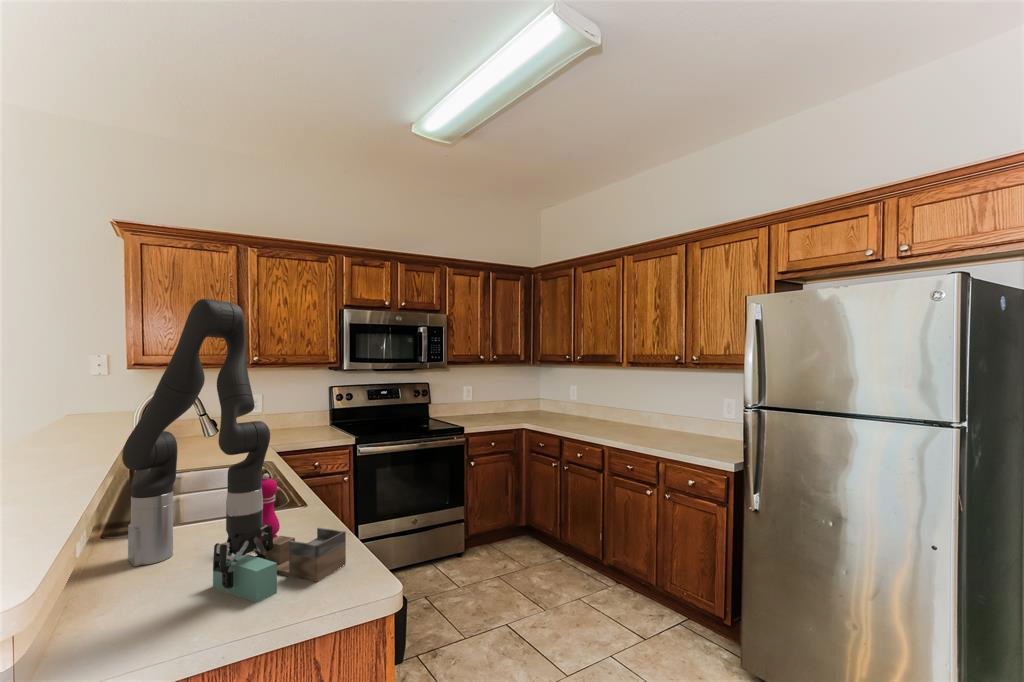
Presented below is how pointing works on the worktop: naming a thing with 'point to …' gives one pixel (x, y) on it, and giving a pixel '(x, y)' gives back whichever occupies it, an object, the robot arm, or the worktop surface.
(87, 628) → the worktop surface
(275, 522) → the pepper mill
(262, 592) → the teal rectangular block
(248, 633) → the worktop surface
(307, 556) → the bracket stand
